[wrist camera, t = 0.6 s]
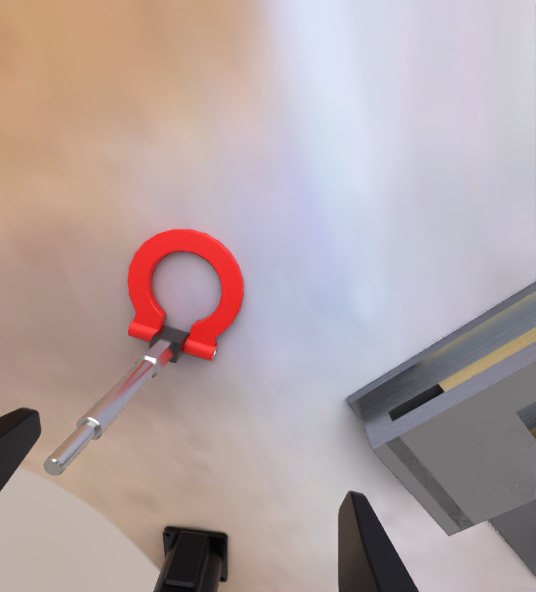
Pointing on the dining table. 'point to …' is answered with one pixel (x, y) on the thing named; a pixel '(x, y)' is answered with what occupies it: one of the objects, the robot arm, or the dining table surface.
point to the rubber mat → (520, 531)
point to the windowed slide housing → (462, 417)
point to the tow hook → (158, 332)
